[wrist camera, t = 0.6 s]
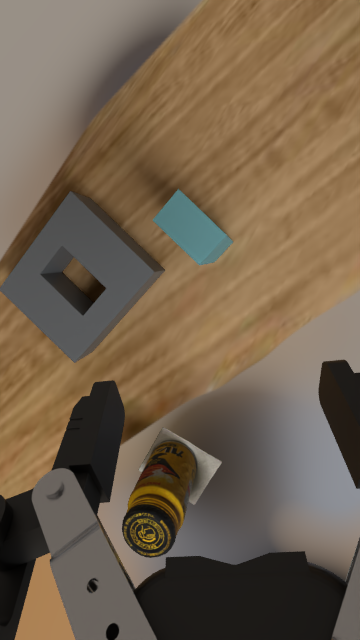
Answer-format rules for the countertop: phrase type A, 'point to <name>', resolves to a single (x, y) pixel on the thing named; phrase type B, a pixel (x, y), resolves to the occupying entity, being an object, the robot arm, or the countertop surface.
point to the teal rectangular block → (192, 229)
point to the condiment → (165, 493)
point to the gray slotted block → (65, 297)
